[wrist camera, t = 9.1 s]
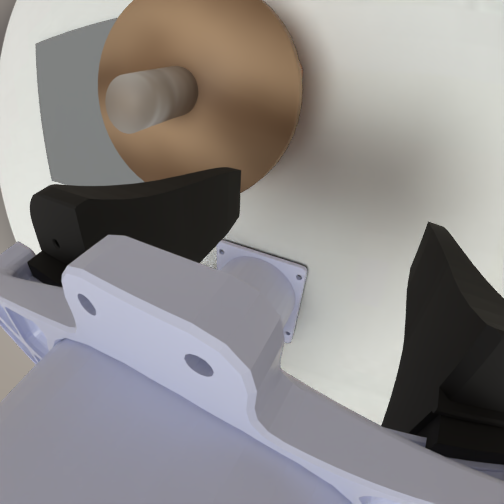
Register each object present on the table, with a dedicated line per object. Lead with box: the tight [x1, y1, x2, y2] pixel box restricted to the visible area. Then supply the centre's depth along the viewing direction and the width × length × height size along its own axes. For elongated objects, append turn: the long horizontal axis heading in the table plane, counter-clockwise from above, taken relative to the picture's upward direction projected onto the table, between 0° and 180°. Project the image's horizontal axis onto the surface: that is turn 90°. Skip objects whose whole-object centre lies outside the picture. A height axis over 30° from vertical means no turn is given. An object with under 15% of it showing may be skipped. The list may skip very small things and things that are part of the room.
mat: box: [36, 18, 144, 186], centre depth 27 cm, size 18×18×1 cm
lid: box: [98, 0, 303, 193], centre depth 15 cm, size 14×14×5 cm
